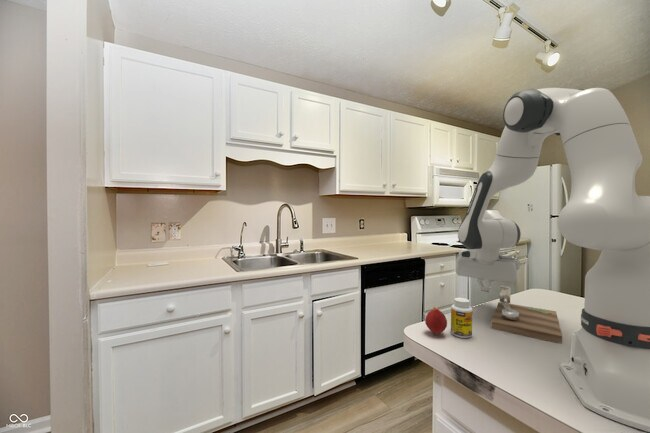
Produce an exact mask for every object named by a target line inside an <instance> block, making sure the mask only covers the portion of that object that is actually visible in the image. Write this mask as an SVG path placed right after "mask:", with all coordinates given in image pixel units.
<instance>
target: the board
mask: <svg viewBox="0 0 650 433" xmlns="http://www.w3.org/2000/svg"><path fill="white" fill-rule="evenodd" d="M508 304H509V306H510V308H511V310H515V311H517V312H519V319H518V320H510V319H506V318H504V317H502V310H503V309H504V307H503V305H502V302H500V301H498V303H497V305H496V308H495V311H494V312H493V315H492V320H491V324H490V329H492V330H497V331H502V332H507V333H511V334H515V335H520V336H525V337H530V338H532V339H533V338H534V339H539V340H543V341H547V342H553V343H556V344H562V342H563V334H562V330H561V327H560V322H559V319H558V314H557V311H556V310H555V311H554V310H549V309H546V308H538V307H532V306H526V305H519V304H513V303H508Z"/></svg>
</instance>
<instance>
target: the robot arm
mask: <svg viewBox="0 0 650 433" xmlns="http://www.w3.org/2000/svg"><path fill="white" fill-rule="evenodd" d="M502 117H503V123H504V129H503V130H502V132H501V136H500V139H499V141H498V145H497V148H496V149H497V150H496V154H495V157H494V160H493V162H492V165H491V166H490V167H489V169H488V170H486V171H485V172H483V173H481V175H480V177H479V179H478V181H477V183H476V186H475V188H474V191H473V194H472V197H471V199H470V202H469V205H468V208H467V210H466V213H465V216H464V217H463V220H462V221H461V223H460V224H459V228H458V232H457V238H458V241H459V242H460V243H461V245H462V246H464V247H465V248H466V249H464V250H461V251H459V252H458V257H459V258H457V259H456V265H455V273H456V275H457V276H461V277H466V278H471V279H472V278H473V279H476V281H477V283H478V285H479V287H480V292H484V293H491V291H492V290H491V289H492V288H491V287H492V286H493V285H494V284H495V282H500V283H506V284H512V285H516V284H517V283H519V282H520V272H519V269H520V266H521V262H520V260H519V258H516V257H515V256H512V255H511V256H509V255H503V254H502V255H501V249H510V248H514V247H515V246H516V245H517V244H519V242H520V239H521V234H522V233H521V228H520V226H519V224H517V223H516V221H514V220H509V219H507V218H505V217H504V216H502V215H501V213H500V211H499V210H497V209H493V208H492V209H491V208H490V209H487V208H488V206H489V203H490V201H491V200H492V198H493V197H494V196H495V195H497V194H498V193H500V192H502V191H504V190H507V189H509V188H513V187H515V186H518V185H520V184H524V183H525V182H526V181H528V180H529V179H530V178H531V177H532V176H533V175H534V174H535V172H536V170H537V168H538V165H539V161H540V156H541V153H542V152H541V151H542V147H543V145H544V144H543V143H544V140H545V139H546V138H547V137H549V136H550V135H553V134H555V136H559V137H561V138H560V139H561V142H562V147H563V150H564V153H565V157H566V161H567V164H568V168H569V171H570V179H571V187H570V188H571V190H570V195H569V199H568V202H567V204H565V205H564V207H562V209H561V211H560V212H559V215H558V218H557V227H558V229H559V230H558V231H559V233H560V234H561V235H562V237H563V238H564V239H565V240H566V241H567V242H568V243H571V244H572V245H574V246H577V247H582V248H585V249H591V250H595V251H601V253H600V255H599V257H598V259H597V261H596V262H595V264H594V265H593V266H592V267H591V268H590V269H589V270H588V271H587V273H586V274H585V276H584V308H582V309H581V314H580V326H581V328H580V329H579V330H577V331H575V332H574V333H572V334H571V343H570V356H569V357H570V360H569V362H560V363H559V370H560V371H561V373H562V375H563V376H564V377H565V379H566V381H567V382H568V384H569V385H570V387H571V389H572V390H573V392H574V394H576V397H577V398H578V400H579V401H580V402H581V404H582V405H583V406H584V407H585V408H587V409H588V410H590V411H592V412H594V413H596V414H598V415H600V416H603V417H605V418H607V419H610V420H613V421H614V422H615V421H616V422H618V423H620V424H623V425H626V426H629V427H632V428H635V429H639V430H642V431H645V432H648V433H650V195H638V194H637V191H636V185H635V184H636V174H637V170H638V169H639V168H640V167H641V165H642V163H643V159H644V158H643V155H642V152H641V149H640V147H639V144H638V142H637V139H636V136H635V134H634V131H633V127H632V125H631V123H630V120H629V118H628V115H627V114H626V112H625V109H624V108H623V106H622V105H621V103H620V102H619V100H618V99H617V97H616V96H615V95H614V94H613V93H612V91H611V90H609V89H607V88H604V87H592V88H587V89H586V88H566V87H564V88H562V87H545V88H537V89H536V88H529V89H525V90H524V89H523V90H520V91H517V92H515V93H514V94H512V96H510V98H509V99H508V100H507V102H506V104H505V106H504V108H503V114H502ZM484 280H486V281H487V283H488V286H487V285H485V284H484V283H483V281H484Z"/></svg>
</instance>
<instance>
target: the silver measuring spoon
mask: <svg viewBox="0 0 650 433" xmlns="http://www.w3.org/2000/svg"><path fill="white" fill-rule="evenodd" d="M511 289H512V288H511V287H510V286H507V285H500V286H499V302H502V305H503V307H504V309H503V310H502V317H504V318H506V319H510V320H518V319H519V312H517V311H515V310H511V308H510V306H509V304H511V293H512V292H511ZM508 303H509V304H508Z"/></svg>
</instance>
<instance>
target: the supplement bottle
mask: <svg viewBox="0 0 650 433" xmlns="http://www.w3.org/2000/svg"><path fill="white" fill-rule="evenodd" d="M470 304H471V303H470V300H469V299H468V298H465V297H455V298H454V299H453V304H452V305H451V306H450V310H451V311H450V333H451V334H452V335H453V336H455V337H457V338H461V339H469V338H472V336H473V311H474V310H473V308H472V306H471V305H470Z"/></svg>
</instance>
